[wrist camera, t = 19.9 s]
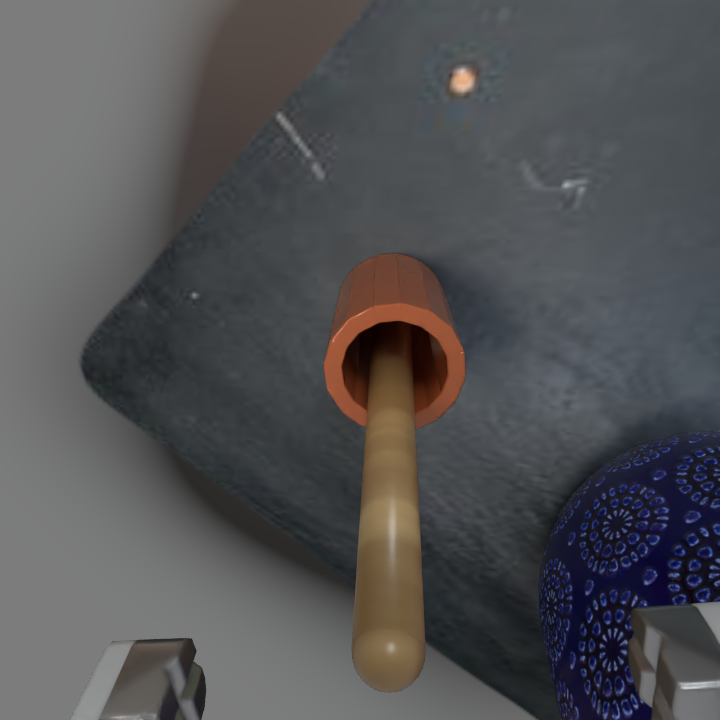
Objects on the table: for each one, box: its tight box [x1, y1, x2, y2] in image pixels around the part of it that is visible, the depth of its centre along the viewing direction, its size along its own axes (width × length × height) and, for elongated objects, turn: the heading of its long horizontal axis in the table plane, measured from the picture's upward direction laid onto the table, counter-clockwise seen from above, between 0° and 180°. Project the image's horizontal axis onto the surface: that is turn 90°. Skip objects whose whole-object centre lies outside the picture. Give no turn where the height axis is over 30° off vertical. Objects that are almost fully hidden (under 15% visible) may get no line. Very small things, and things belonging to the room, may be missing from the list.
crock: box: [324, 254, 466, 429], centre depth 27 cm, size 5×5×8 cm
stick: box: [352, 321, 425, 693], centre depth 22 cm, size 2×2×19 cm
